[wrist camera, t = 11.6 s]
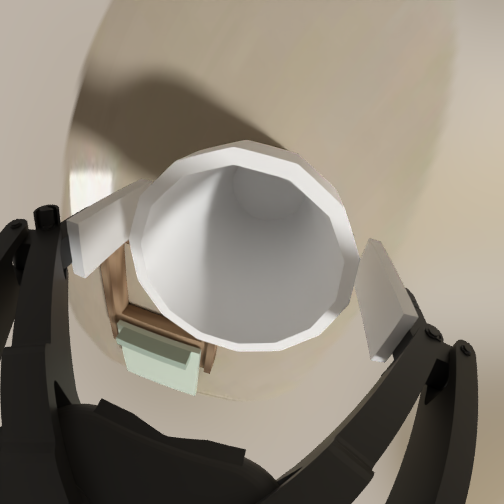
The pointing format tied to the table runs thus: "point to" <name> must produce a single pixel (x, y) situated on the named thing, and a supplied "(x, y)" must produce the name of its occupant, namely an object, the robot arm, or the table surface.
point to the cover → (159, 358)
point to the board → (141, 318)
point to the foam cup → (245, 247)
